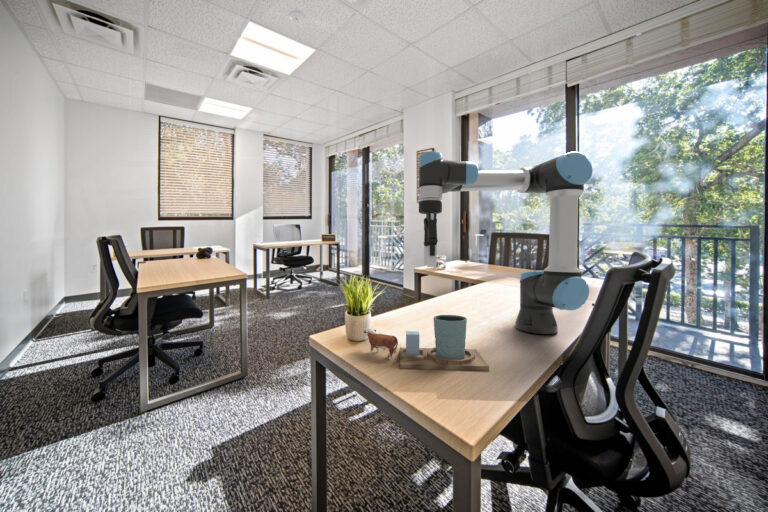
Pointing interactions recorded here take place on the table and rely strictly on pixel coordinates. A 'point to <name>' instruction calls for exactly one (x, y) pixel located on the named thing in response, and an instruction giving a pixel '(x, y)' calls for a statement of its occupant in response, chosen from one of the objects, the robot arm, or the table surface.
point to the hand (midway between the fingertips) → (429, 266)
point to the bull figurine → (381, 341)
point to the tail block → (412, 343)
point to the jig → (442, 360)
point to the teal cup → (450, 336)
